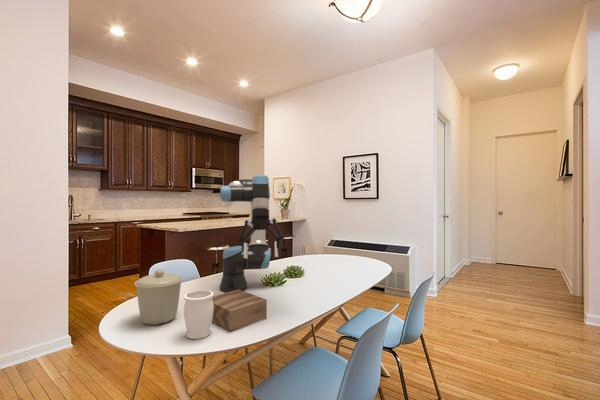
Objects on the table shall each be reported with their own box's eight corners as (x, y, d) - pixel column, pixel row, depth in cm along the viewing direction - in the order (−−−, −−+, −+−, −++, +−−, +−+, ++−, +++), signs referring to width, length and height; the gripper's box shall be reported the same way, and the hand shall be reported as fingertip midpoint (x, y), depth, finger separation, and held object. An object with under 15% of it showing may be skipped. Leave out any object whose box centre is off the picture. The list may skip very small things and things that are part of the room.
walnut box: (203, 317, 126) (203, 298, 126) (238, 306, 139) (238, 289, 139) (230, 332, 112) (230, 311, 112) (266, 318, 125) (266, 299, 125)
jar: (196, 343, 103) (196, 301, 103) (177, 336, 109) (177, 295, 108) (219, 332, 112) (219, 292, 112) (201, 325, 118) (201, 288, 117)
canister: (174, 328, 115) (174, 274, 115) (125, 330, 113) (125, 275, 113) (187, 311, 133) (188, 264, 133) (146, 312, 131) (146, 264, 131)
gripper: (230, 209, 130) (229, 258, 124) (286, 205, 126) (287, 255, 121) (236, 212, 137) (236, 259, 132) (289, 208, 133) (291, 256, 128)
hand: (260, 257), depth 126 cm, fingers open, 13 cm apart
